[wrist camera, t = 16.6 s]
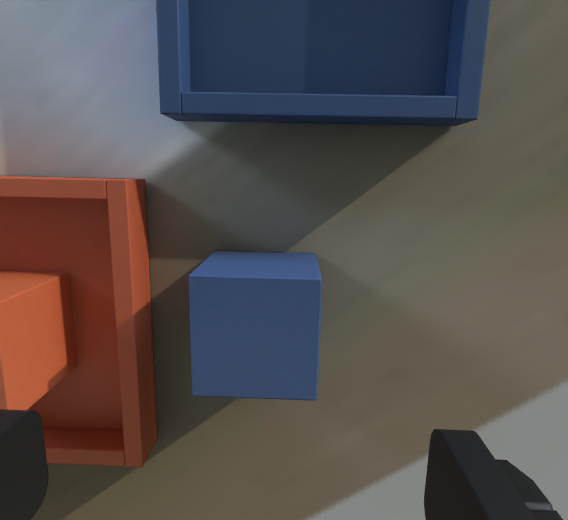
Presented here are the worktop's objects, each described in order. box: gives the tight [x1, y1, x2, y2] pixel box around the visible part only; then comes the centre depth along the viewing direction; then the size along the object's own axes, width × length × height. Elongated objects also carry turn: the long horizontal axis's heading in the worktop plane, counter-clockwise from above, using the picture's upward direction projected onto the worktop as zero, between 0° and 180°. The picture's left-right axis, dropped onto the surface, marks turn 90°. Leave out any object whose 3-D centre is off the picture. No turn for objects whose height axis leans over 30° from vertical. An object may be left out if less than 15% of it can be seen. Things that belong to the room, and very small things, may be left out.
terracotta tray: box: [0, 176, 157, 467], centre depth 18 cm, size 12×13×2 cm
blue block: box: [189, 251, 322, 400], centre depth 16 cm, size 4×4×4 cm
